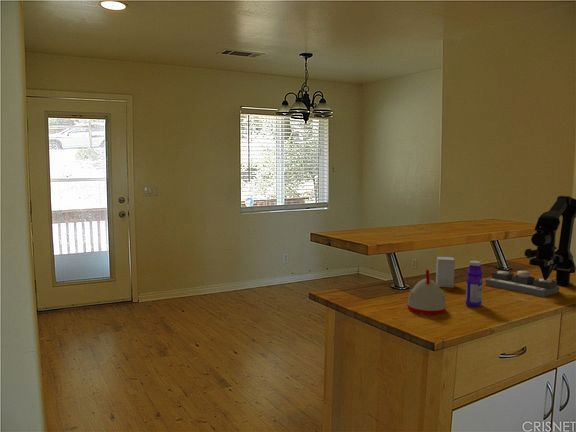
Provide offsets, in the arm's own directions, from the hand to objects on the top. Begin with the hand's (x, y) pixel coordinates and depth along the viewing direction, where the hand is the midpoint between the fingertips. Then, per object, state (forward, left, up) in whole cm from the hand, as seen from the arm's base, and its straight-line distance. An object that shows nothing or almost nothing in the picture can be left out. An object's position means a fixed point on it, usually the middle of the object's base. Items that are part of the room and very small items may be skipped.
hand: (545, 279), depth 211 cm
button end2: (0, 0, -2) cm, 2 cm away
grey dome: (+62, -15, -6) cm, 64 cm away
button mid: (0, -9, -1) cm, 10 cm away
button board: (+2, -9, -6) cm, 11 cm away
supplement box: (+24, -33, -6) cm, 42 cm away
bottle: (+43, -7, -6) cm, 44 cm away
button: (0, -19, -3) cm, 19 cm away
